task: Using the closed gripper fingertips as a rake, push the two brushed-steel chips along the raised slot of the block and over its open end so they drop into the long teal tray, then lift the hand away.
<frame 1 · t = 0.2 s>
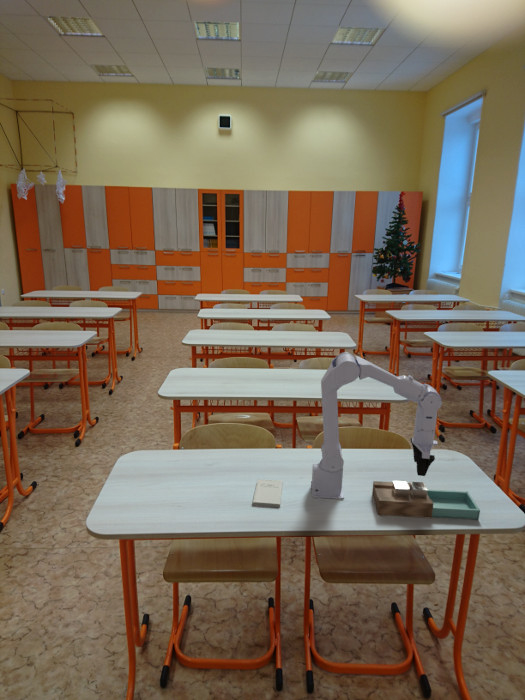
hand: (419, 468, 132), 10 cm above the table, tool pointing down, fingers open, 7 cm apart
chip 1: (400, 493, 130), point 4 cm above the table, touching channel block
chip 2: (417, 494, 129), point 4 cm above the table, touching channel block
channel block: (400, 505, 131), on the table
external hard drive: (268, 496, 136), on the table
tray: (449, 508, 130), on the table
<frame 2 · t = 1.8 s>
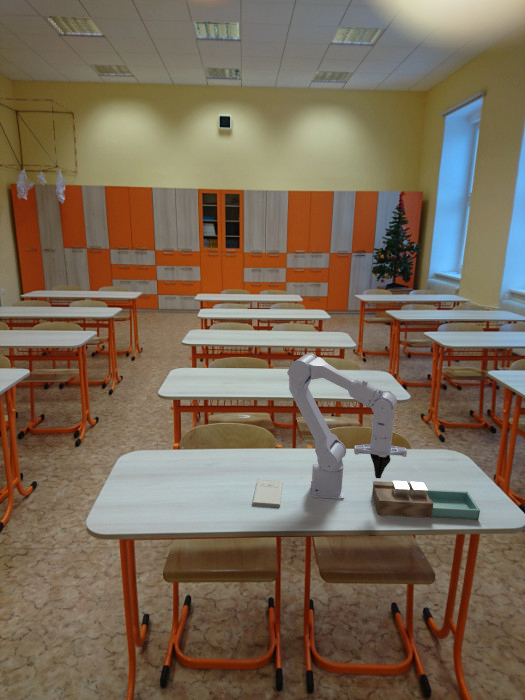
hand: (377, 476, 129), 9 cm above the table, tool pointing down, fingers closed
nothing on the table moved.
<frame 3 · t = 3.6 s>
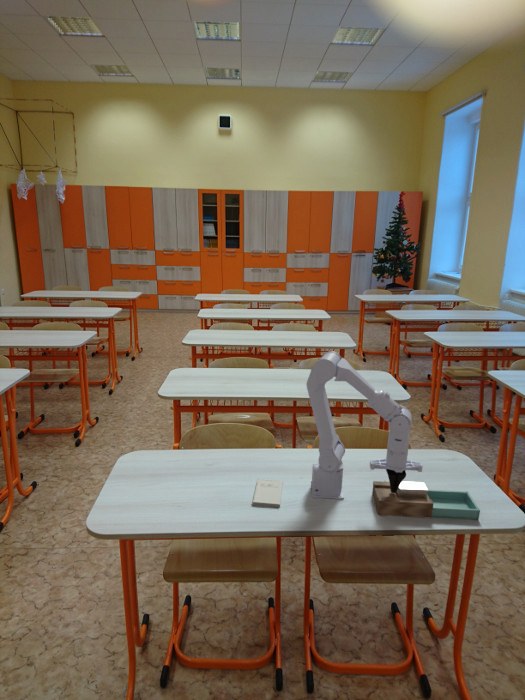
hand: (393, 491, 129), 5 cm above the table, tool pointing down, fingers closed
chip 1: (404, 494, 129), point 4 cm above the table, touching chip 2, gripper
chip 2: (417, 494, 129), point 4 cm above the table, touching chip 1
everything else where it was.
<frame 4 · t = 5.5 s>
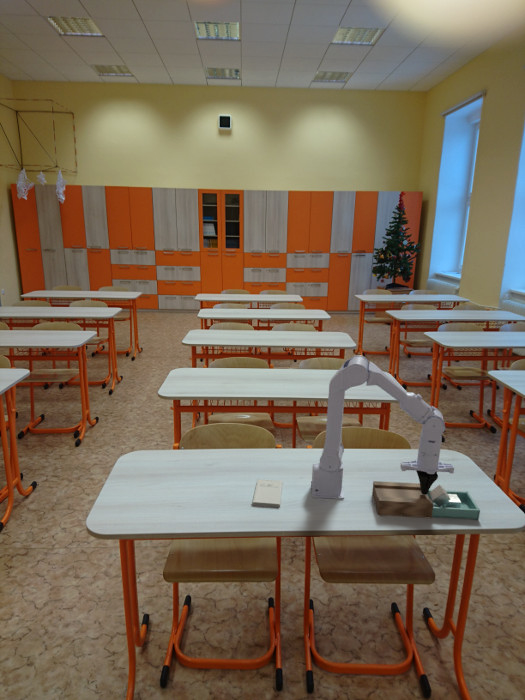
hand: (423, 492, 129), 5 cm above the table, tool pointing down, fingers closed
chip 1: (442, 499, 129), point 3 cm above the table, tilted 47°, touching chip 2
chip 2: (451, 498, 129), point 3 cm above the table, tilted 180°, touching chip 1, tray
everything else where it was.
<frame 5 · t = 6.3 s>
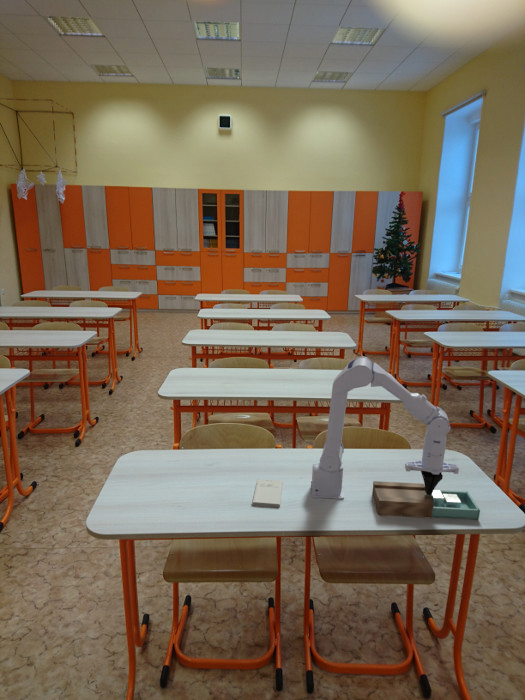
hand: (428, 492, 129), 5 cm above the table, tool pointing down, fingers closed
chip 1: (441, 500, 129), point 2 cm above the table, tilted 90°, touching tray
chip 2: (451, 498, 129), point 3 cm above the table, tilted 180°, touching tray
everything else where it was.
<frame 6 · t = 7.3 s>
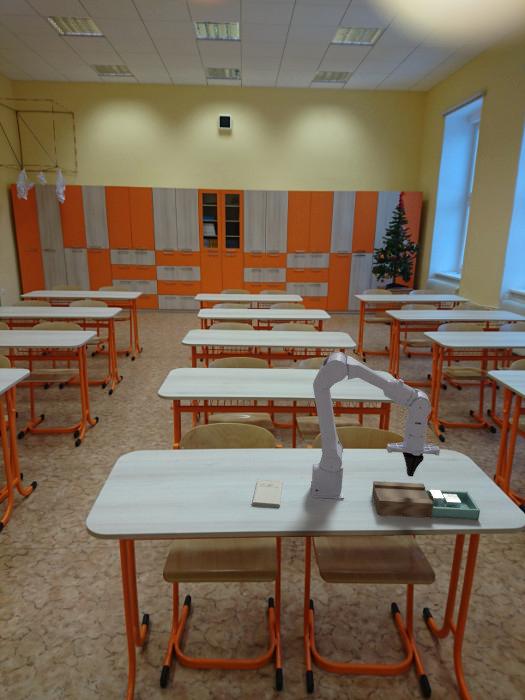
hand: (409, 474, 130), 9 cm above the table, tool pointing down, fingers closed
nothing on the table moved.
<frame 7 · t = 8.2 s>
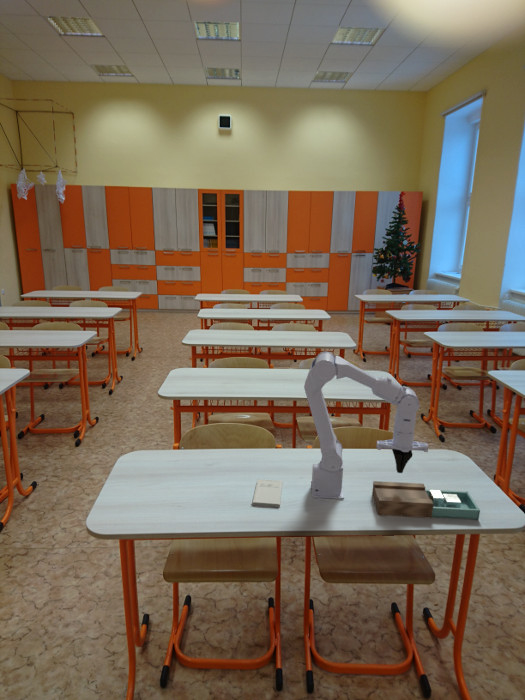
hand: (399, 471, 131), 9 cm above the table, tool pointing down, fingers closed
nothing on the table moved.
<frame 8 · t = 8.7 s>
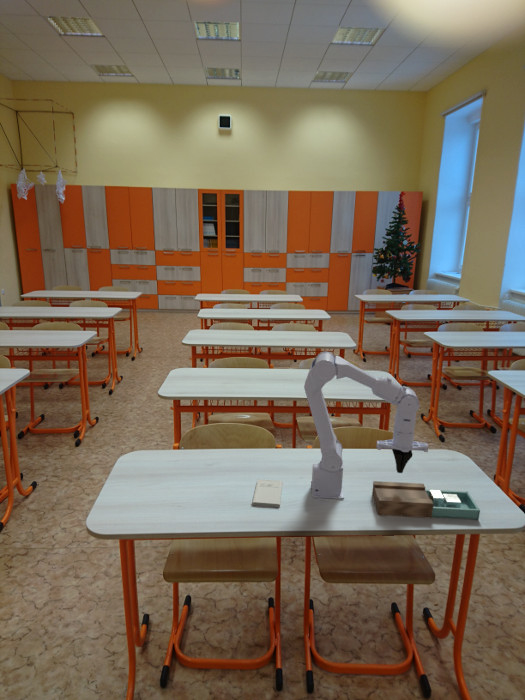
hand: (399, 471, 131), 9 cm above the table, tool pointing down, fingers closed
nothing on the table moved.
at the end: chip 1 inside the target area on the tray (2.7 cm from its centre), point 2.5 cm above the tray's base; chip 2 inside the target area on the tray (0.2 cm from its centre), point 3.5 cm above the tray's base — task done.
